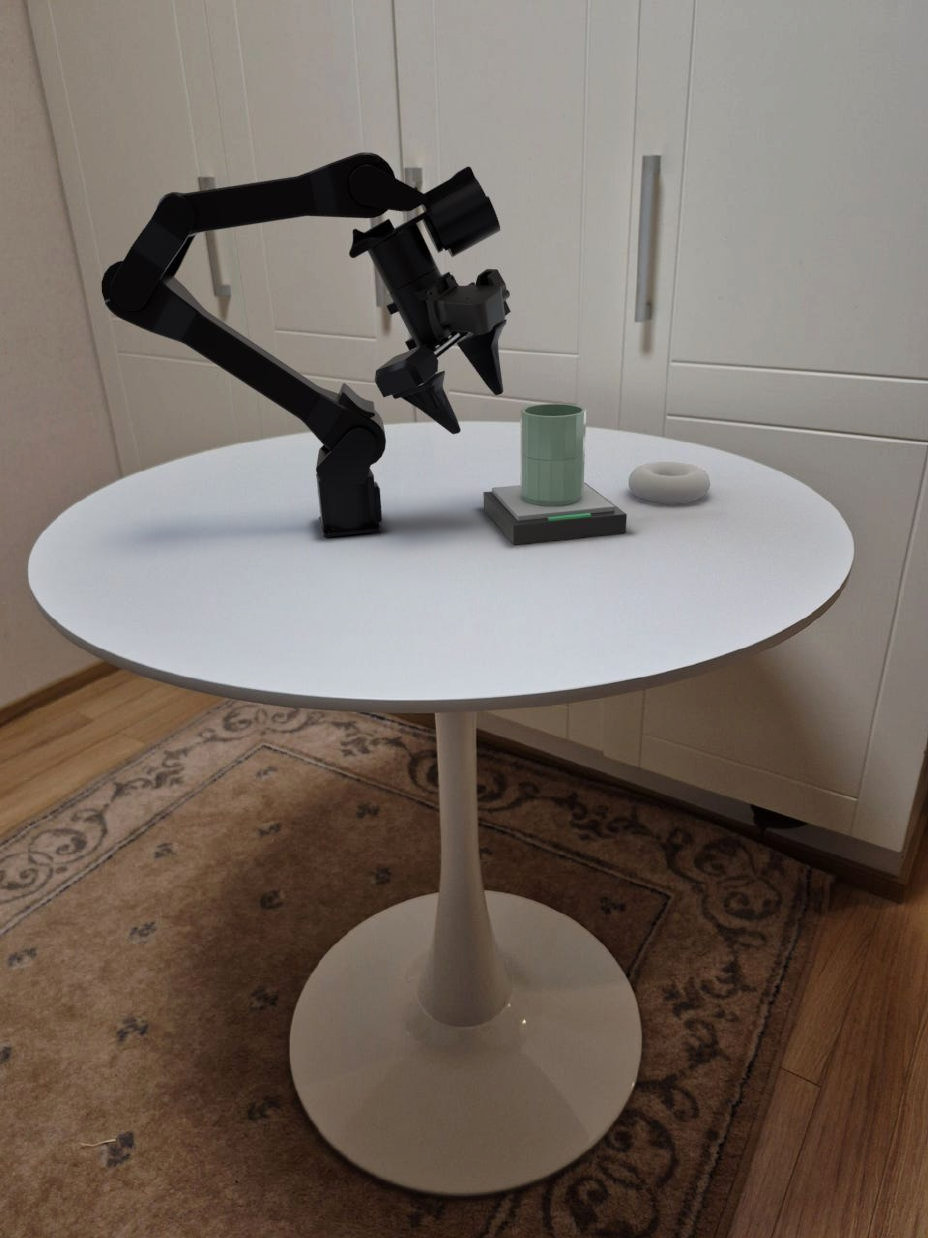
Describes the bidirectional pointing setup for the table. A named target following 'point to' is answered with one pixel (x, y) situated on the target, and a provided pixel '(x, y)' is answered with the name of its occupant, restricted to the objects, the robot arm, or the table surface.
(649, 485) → the donut
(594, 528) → the scale
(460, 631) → the table surface
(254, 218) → the robot arm
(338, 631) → the table surface
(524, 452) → the pale green cup
